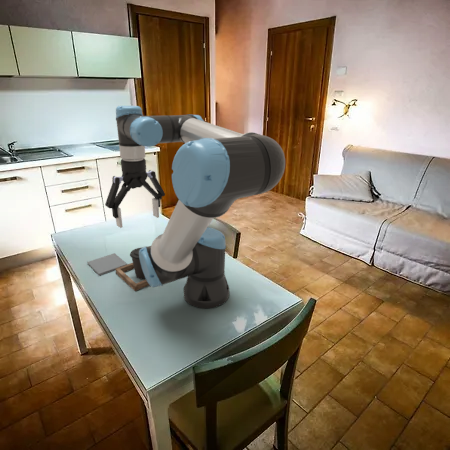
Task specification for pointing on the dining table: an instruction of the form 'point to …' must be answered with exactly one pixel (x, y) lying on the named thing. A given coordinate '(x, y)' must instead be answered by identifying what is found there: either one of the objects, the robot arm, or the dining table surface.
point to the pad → (106, 264)
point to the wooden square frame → (128, 280)
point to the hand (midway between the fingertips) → (138, 221)
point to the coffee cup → (137, 263)
